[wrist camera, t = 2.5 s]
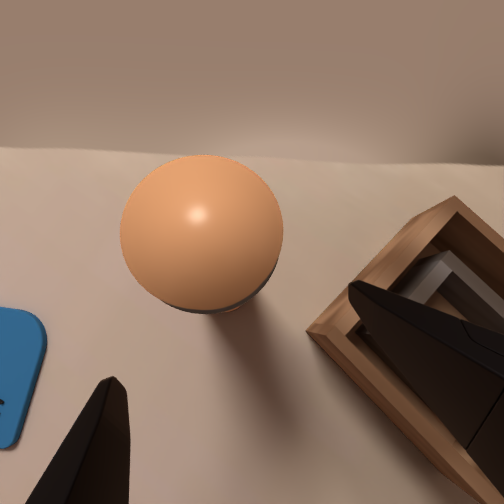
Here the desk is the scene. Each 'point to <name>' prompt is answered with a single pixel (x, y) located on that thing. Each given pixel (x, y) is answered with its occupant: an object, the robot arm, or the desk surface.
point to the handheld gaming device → (18, 368)
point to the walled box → (433, 295)
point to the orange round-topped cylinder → (202, 234)
